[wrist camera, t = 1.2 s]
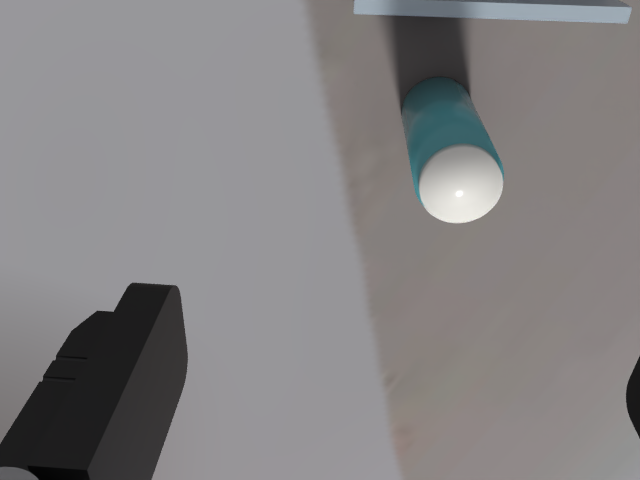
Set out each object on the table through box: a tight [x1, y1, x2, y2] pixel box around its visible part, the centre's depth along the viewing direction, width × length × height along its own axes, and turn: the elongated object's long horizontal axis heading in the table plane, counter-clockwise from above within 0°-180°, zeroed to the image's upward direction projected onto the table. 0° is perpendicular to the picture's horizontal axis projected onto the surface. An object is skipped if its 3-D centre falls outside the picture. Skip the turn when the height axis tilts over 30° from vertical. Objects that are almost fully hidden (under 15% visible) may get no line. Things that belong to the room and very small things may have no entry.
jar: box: [401, 77, 504, 223], centre depth 41 cm, size 6×6×13 cm
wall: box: [354, 0, 632, 23], centre depth 40 cm, size 18×1×4 cm, turn 89°
